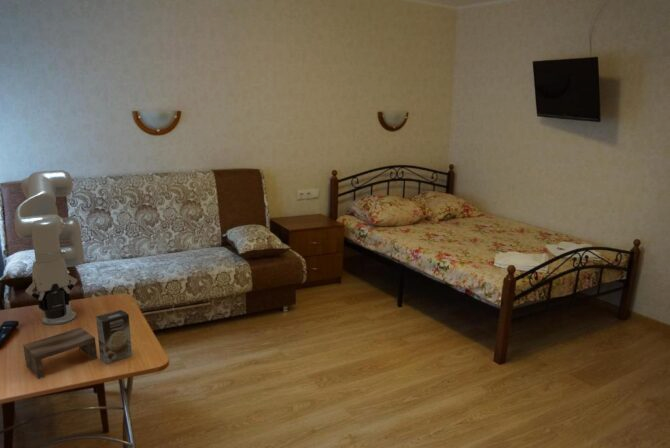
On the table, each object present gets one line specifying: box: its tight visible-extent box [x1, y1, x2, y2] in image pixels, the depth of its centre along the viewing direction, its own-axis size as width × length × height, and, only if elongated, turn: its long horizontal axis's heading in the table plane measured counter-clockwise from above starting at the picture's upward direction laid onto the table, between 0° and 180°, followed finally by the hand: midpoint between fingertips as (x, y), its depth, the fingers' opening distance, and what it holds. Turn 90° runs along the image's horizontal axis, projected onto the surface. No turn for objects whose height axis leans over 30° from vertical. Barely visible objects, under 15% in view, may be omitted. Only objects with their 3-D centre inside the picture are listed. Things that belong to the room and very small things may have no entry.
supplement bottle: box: [43, 283, 67, 319], centre depth 172 cm, size 7×7×12 cm
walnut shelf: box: [22, 327, 98, 380], centre depth 176 cm, size 12×19×8 cm, turn 137°
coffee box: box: [95, 309, 133, 365], centre depth 179 cm, size 9×6×16 cm
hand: (55, 306), depth 172 cm, fingers closed on supplement bottle, 6 cm apart
